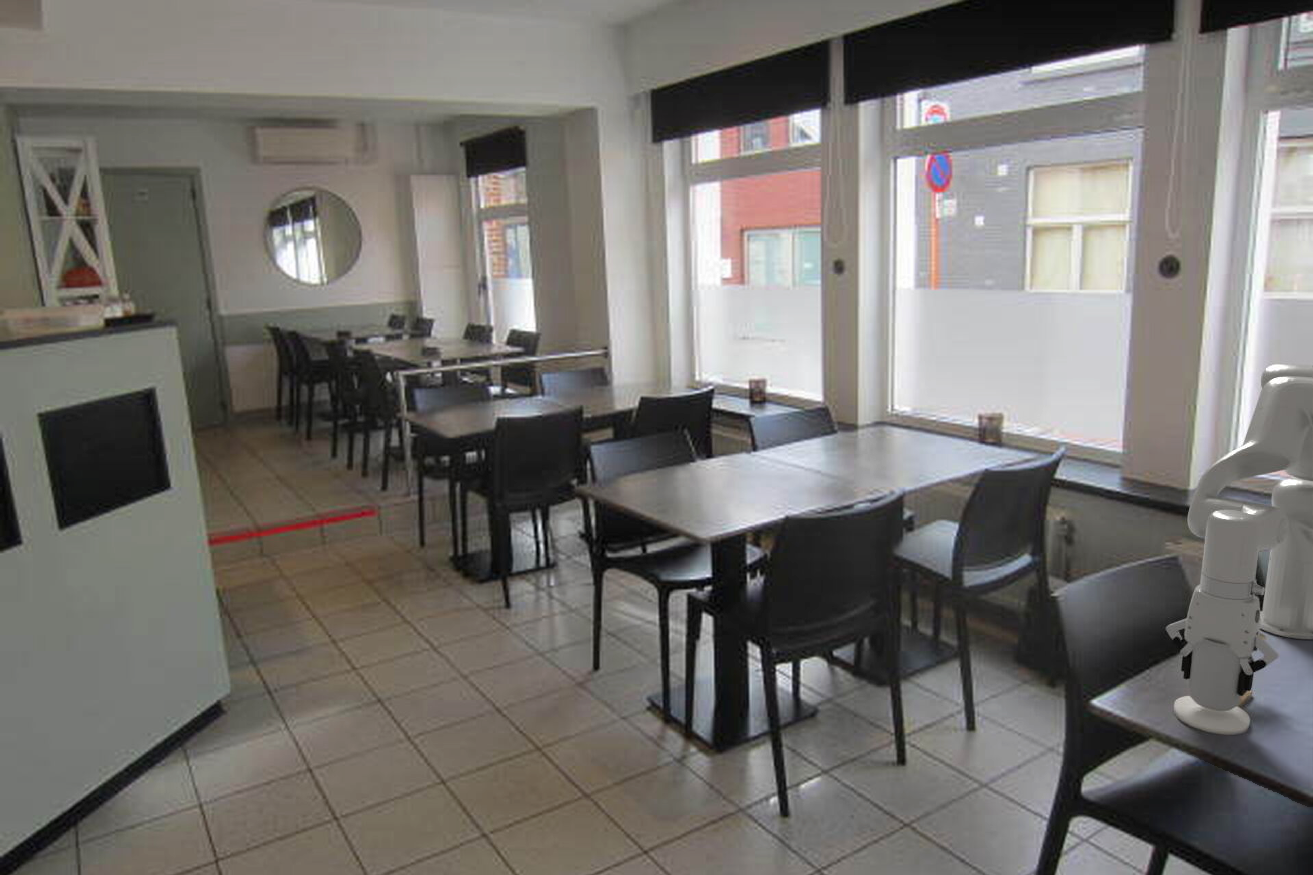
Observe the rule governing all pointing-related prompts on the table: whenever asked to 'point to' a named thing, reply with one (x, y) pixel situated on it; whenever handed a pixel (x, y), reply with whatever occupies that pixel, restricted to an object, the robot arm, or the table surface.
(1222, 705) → the can
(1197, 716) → the white rounded disc
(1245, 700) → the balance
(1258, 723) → the table surface
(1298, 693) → the table surface
